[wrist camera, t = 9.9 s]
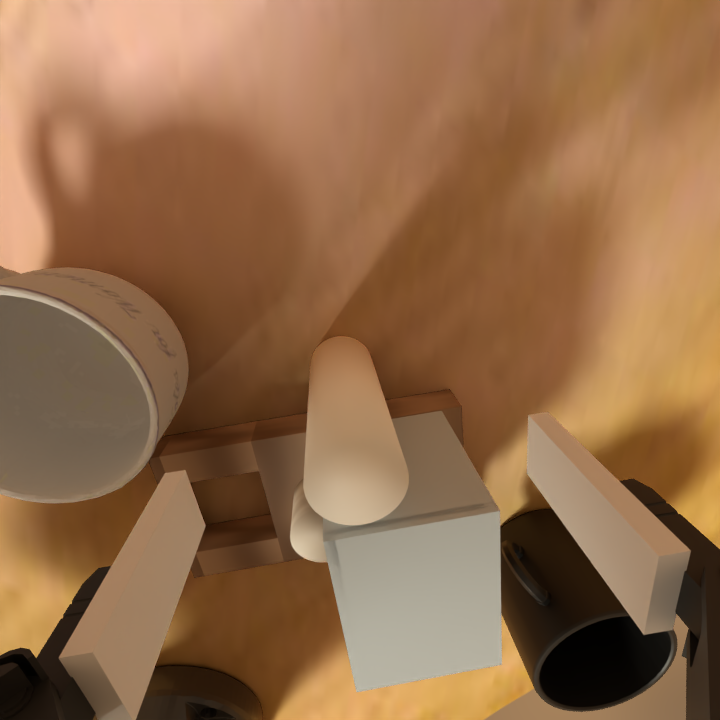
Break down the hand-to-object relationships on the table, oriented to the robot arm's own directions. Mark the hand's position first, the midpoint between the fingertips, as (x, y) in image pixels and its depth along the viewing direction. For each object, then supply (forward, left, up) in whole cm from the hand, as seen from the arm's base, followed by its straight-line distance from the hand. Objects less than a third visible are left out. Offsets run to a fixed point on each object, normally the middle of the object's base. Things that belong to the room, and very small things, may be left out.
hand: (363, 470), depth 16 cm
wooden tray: (-3, -8, -12) cm, 15 cm away
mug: (+12, -19, -12) cm, 25 cm away
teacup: (-14, +5, -12) cm, 19 cm away
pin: (0, 0, -12) cm, 12 cm away
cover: (+2, -8, -9) cm, 12 cm away
